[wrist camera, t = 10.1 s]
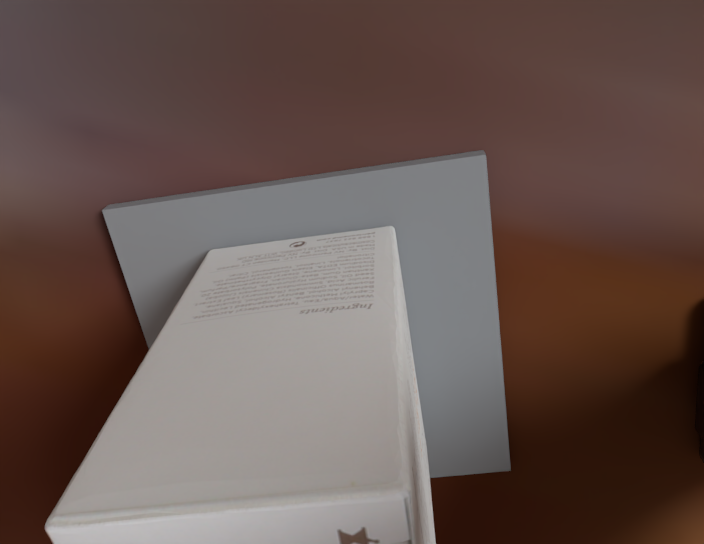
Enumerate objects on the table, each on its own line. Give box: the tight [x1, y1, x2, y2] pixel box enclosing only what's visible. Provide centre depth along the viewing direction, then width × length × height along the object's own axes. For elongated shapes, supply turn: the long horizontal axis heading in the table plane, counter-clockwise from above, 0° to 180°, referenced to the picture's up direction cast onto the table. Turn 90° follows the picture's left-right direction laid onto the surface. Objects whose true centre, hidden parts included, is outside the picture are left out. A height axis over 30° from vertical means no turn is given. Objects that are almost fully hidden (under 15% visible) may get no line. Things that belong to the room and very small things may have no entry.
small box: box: [45, 226, 436, 544], centre depth 15 cm, size 8×6×10 cm
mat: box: [102, 150, 511, 478], centre depth 20 cm, size 11×11×1 cm
